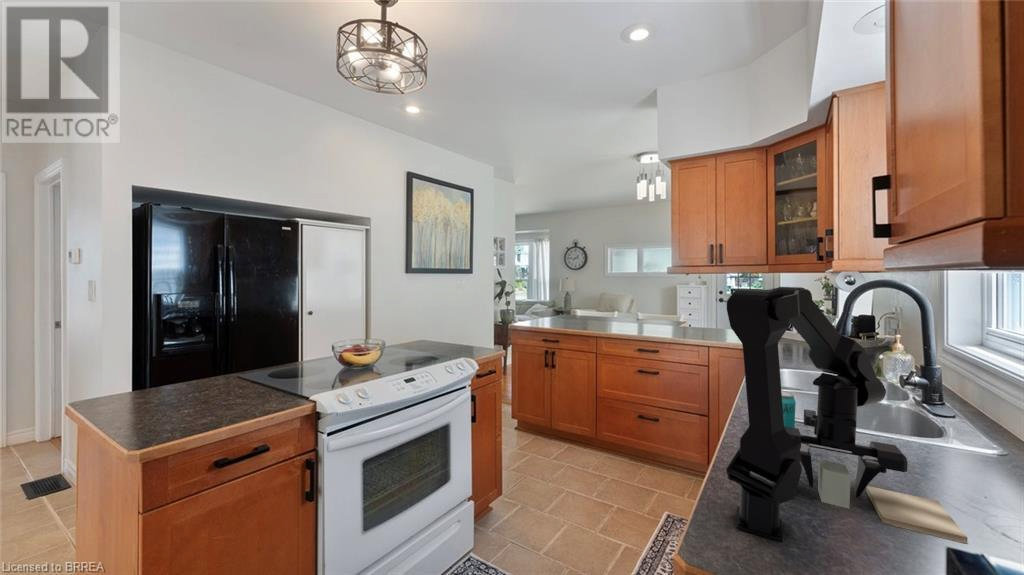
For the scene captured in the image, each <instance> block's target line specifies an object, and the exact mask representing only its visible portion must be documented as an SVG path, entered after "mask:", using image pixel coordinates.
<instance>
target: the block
mask: <svg viewBox="0 0 1024 575" xmlns="http://www.w3.org/2000/svg"><path fill="white" fill-rule="evenodd" d="M847 467H848V466H847V464H842V463H839V462H834V461H833V462H832V461H828V460H823V459H819V460H818V481H817V491H818V494H819V498H820V502H821V503H825V504H828V505H832V506H837V507H840V508H846V509H850V502H851V501H850V500H851V484H852V483H851V481H852V480H851V479H852V478H851V477H852V476H851V474H850V471H849V470H848V468H847Z"/></svg>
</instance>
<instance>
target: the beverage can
mask: <svg viewBox="0 0 1024 575" xmlns="http://www.w3.org/2000/svg"><path fill="white" fill-rule="evenodd" d="M781 392H782V406H783V419H784V426H785V427H791V428H796V425H795V424H796V398H795V393H792V392H789V391H787V390H782V389H781Z"/></svg>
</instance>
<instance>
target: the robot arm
mask: <svg viewBox="0 0 1024 575" xmlns="http://www.w3.org/2000/svg"><path fill="white" fill-rule="evenodd" d="M726 312H727V317H728V322H729V326H730V328H731V330H732V332H733V333H734V334H735V335H736V336H737V338H738V340H739V341H740V342H741V345H742V355H743V366H744V368H743V369H744V378H745V392H746V402H747V403H746V404H747V405H746V406H747V417H748V427H747V429H746V430H745V431H744V432H743V434H742V436H740V438H739V448H738V450H737V452H736V453H735V455H734V456H733V458H732V459H731V461H730V463H729V464H728V466H727V467H726V475H727V479H728V480H729V481H731V482H732V481H733V482H734V483H736V484H737V485H740V486H739V487H740V488H739V490H740V491H739V506H738V507H737V509H736V519H735V520H736V521H735V527H736V528H737V530H738V529H739V530H741V531H745V532H748V533H751V534H755V535H759V536H761V537H765V538H768V539H769V538H770V539H771V540H776V541H779V542H783V541H784V532H783V531H784V530H783V523H782V522H783V521H782V518H781V504H783V503H786V502H789V501H791V500H794V499H796V495H797V491H798V488H799V483H800V479H801V476H802V467H803V468H804V472H805V475H806V478H807V481H808V485H809V487H810V488H813V487H814V474H813V473H814V472H813V463H812V455H811V452H810V448H813V449H814V448H815V449H819V450H825V451H831V452H836V453H840V454H847V455H852V456H857V458H858V459H857V470H856V477H855V482H854V488H853V489H854V497H855V498H856V499H858V498H860V496H861V495H862V493H863V492H864V491H865V490H866V486H869V484H870V482H872V481H873V479H875V477H877V475H878V474H880V473H882V474H887V472H888V471H887V470H890V471H896V472H900V473H908V459H907V456H906V455H905V454H904V453H903V452H902V450H901V449H900V448H899V447H898V446H896V445H895V444H890V443H885V442H878V441H874V440H870V443H869V446H868V445H867V446H866V445H862V444H857V443H856V441H857V439H856V438H857V437H856V436H857V417H858V415H857V414H858V407H865V406H869V405H872V404H877V403H880V402H881V401H883V400H884V398H885V397H886V394H887V389H886V388H885V384H884V383H883V382H882V381H881V380H880V379H879V378H878V377H877V374H876V373H875V370H874V367H873V364H872V362H871V360H870V357H869V355H868V353H867V351H866V350H865V348H864V347H863V346H862V345H861V344H860V343H859V342H858V341H856V340H855V339H853V338H851V337H848V336H846V335H843V334H841V333H840V332H839V331H838V330H837V328H835V327H834V325H833V324H832V323H831V321H830V319H828V317H827V316H826V315H825V314H824V312H823V311H822V310H821V309H820V307H819V306H818V305H817V304H816V302H815V301H814V300H813V294H812V292H811V291H810V290H809V289H808V288H804V287H800V286H798V287H797V286H778V287H774V288H769V289H763V288H762V289H760V288H759V289H758V288H755V289H754V288H738V289H737V288H736V289H735V290H734V291H733V292H732V293H731V295H730V296H729V297H728V298H727V299H726ZM790 325H791V326H792V327H793V328H794V329H795V331H796V332H797V333H798V335H800V337H801V338H802V339H803V340H804V341H805V342H806V344H807V345H808V346H809V351H808V353H807V355H808V356H809V359H810V360H811V362H812V364H813V365H814V367H815V368H816V369H817V370H820V371H822V372H821V373H820V375H819V376H818V377H816V378H815V379H814V380H813V381H812V385H814V386H816V387H818V388H817V389H818V390H817V408H816V409H817V410H811V409H803V426H805V427H811V428H813V434H814V435H815V436H810V435H805V434H804V435H803V434H801V432H800V429H799V428H798V427H797V428H796V427H795V428H791V427H785V426H784V419H783V406H782V392H781V390H782V382H781V381H782V380H781V379H782V378H781V367H780V357H779V356H780V354H779V353H780V352H779V342H780V340H781V339H782V338H783V336H784V334H785V333H786V331H787V330H788V328H789V326H790ZM816 411H817V412H816ZM801 464H802V465H801ZM757 475H758V476H757ZM759 476H760V477H759ZM763 478H764V479H763ZM765 479H766V480H765ZM769 481H770V482H769Z"/></svg>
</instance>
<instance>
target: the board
mask: <svg viewBox="0 0 1024 575" xmlns="http://www.w3.org/2000/svg"><path fill="white" fill-rule="evenodd" d="M865 491H866V494H867V495H868V497H869V499H870V501H871V503H872V504H873V507H874V509H875V511H876V512H877V514H878V517H879V519H880V520H881V522H882V524H886V525H889V526H893V527H897V528H900V529H901V528H903V529H906V530H910V531H914V532H917V533H922V534H926V535H929V536H934V537H938V538H942V539H946V540H950V541H955V542H958V543H962V544H968V541H969V540H968V536H967V535H966V534H965V533H964V531H963V530H962V528H960V526H959V524H957V522H955V520H954V519H953V518H952V516H951V515H950V514H949V513H948V511H947V510H946V509H945V508H944V506H943V505H942V504H941V503H940V502H939V500H934V499H930V498H925V497H921V496H916V495H911V494H908V493H907V494H906V493H903V492H902V493H901V492H898V491H895V490H894V491H893V490H888V489H884V488H883V489H882V488H879V487H874V486H869V485H867V486H866V488H865Z"/></svg>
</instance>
